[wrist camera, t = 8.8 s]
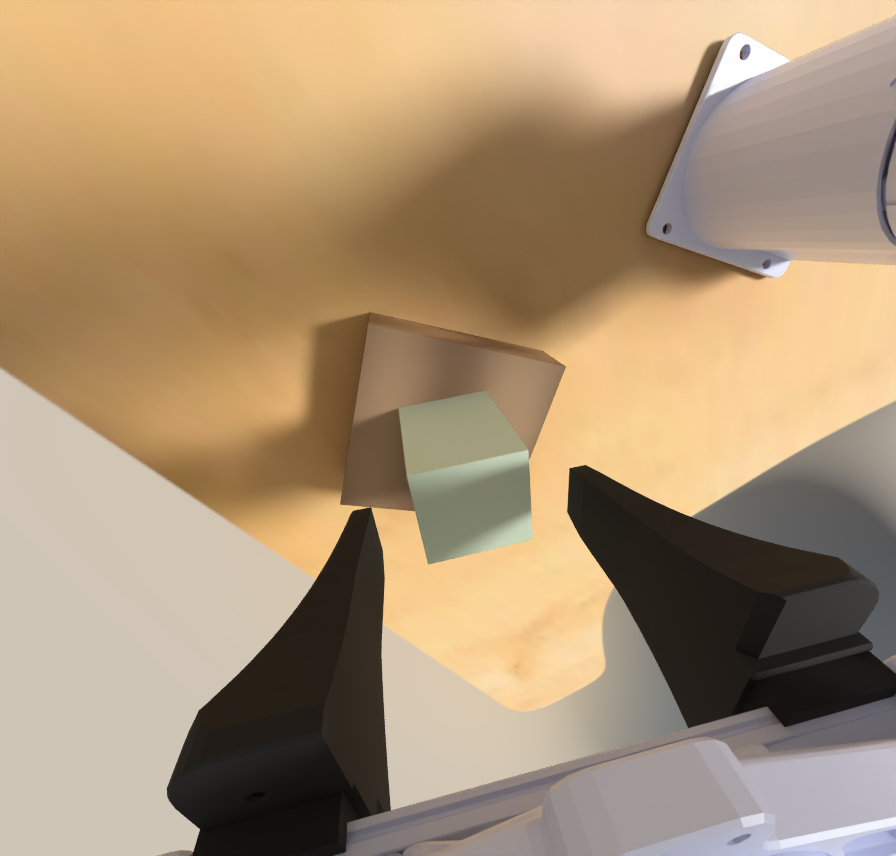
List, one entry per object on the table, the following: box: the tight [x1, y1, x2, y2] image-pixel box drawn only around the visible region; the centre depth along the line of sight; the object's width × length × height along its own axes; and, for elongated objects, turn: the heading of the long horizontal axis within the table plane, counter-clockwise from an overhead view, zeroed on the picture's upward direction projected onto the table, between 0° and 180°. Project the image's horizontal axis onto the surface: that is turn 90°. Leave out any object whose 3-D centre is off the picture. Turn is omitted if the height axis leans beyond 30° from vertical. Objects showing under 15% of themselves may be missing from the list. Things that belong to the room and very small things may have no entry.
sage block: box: [399, 391, 533, 564], centre depth 17 cm, size 4×4×6 cm
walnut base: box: [340, 313, 566, 511], centre depth 21 cm, size 10×10×3 cm
